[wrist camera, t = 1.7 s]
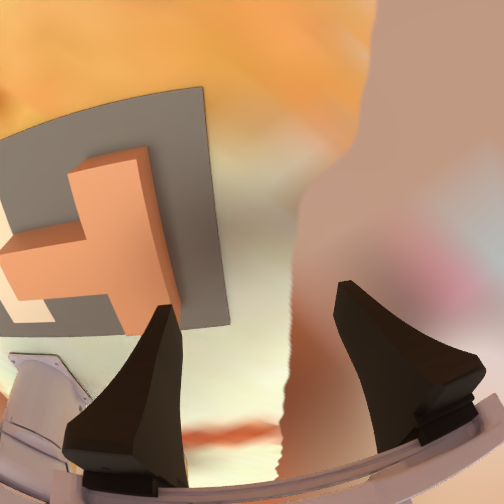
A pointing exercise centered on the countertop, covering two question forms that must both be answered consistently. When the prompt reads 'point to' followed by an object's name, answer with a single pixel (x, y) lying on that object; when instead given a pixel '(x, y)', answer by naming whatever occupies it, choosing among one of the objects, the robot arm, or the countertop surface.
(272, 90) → the countertop surface
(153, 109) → the slate mat
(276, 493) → the robot arm
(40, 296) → the t block
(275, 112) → the countertop surface
